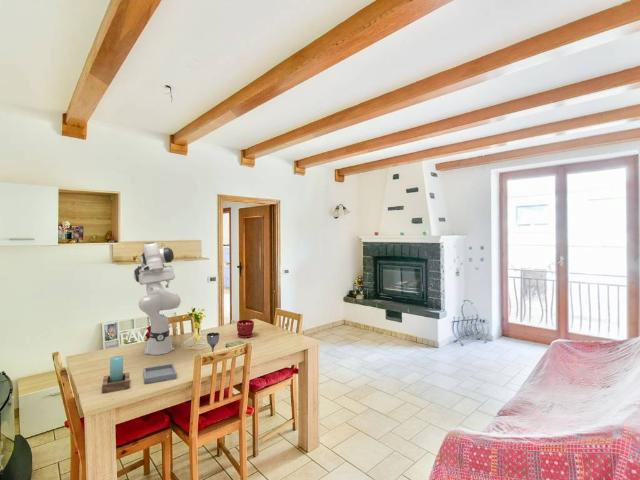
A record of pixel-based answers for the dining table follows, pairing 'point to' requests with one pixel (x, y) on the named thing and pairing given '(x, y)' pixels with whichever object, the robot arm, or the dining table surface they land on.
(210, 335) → the wine glass
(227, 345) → the washcloth
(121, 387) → the cup holder
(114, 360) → the pillar candle
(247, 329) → the plant pot
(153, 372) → the tray
